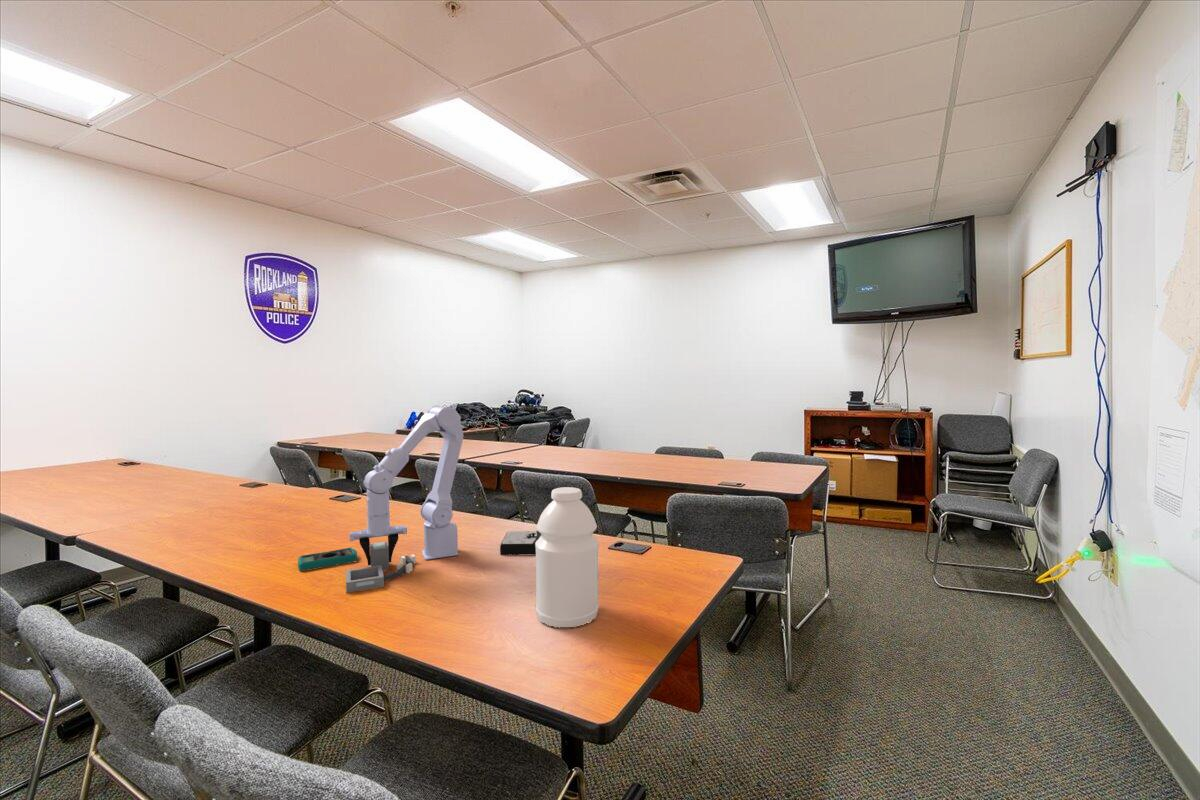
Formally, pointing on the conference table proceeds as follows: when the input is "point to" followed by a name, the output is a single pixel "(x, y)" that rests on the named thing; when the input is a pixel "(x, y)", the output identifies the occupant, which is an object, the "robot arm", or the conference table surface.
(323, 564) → the digital multimeter
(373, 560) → the connector block
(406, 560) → the routed cable
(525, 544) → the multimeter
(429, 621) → the conference table surface
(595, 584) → the bottle
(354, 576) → the frame
